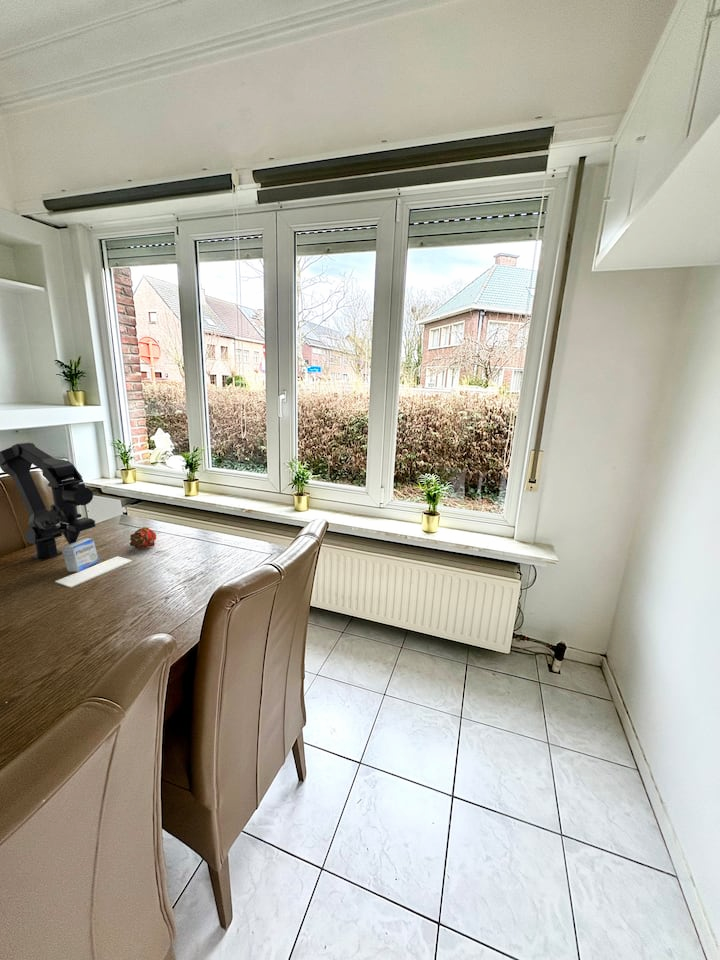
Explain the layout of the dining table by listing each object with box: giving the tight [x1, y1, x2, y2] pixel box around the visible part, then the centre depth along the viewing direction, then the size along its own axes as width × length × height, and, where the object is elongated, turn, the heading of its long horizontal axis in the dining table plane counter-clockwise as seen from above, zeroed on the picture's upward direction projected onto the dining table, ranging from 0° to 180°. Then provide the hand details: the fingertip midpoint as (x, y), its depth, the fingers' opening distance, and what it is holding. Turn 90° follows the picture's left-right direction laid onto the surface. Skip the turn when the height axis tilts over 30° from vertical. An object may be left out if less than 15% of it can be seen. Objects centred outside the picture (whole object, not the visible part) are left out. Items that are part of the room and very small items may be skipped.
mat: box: [54, 555, 133, 589], centre depth 125 cm, size 8×20×1 cm, turn 157°
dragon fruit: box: [129, 526, 157, 551], centre depth 143 cm, size 8×8×12 cm
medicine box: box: [61, 537, 100, 573], centre depth 126 cm, size 8×4×9 cm, turn 169°
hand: (72, 545), depth 127 cm, fingers closed
